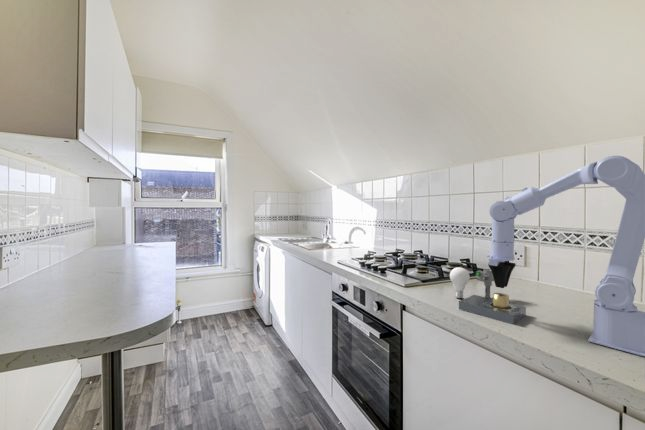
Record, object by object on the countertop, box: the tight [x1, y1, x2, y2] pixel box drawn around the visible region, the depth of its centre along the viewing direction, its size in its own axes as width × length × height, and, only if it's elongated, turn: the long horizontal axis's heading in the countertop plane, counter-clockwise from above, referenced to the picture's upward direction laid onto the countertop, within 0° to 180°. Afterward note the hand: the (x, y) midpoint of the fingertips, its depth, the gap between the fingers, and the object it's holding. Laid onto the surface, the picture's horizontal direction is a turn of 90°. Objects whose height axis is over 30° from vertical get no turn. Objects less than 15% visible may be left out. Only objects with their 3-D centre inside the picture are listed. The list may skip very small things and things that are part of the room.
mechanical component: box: [475, 268, 494, 299], centre depth 103 cm, size 3×10×10 cm, turn 111°
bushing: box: [492, 292, 510, 309], centre depth 87 cm, size 4×4×6 cm
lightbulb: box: [449, 266, 471, 300], centre depth 102 cm, size 6×6×11 cm
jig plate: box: [458, 294, 527, 325], centre depth 89 cm, size 15×11×2 cm
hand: (501, 286), depth 86 cm, fingers closed
